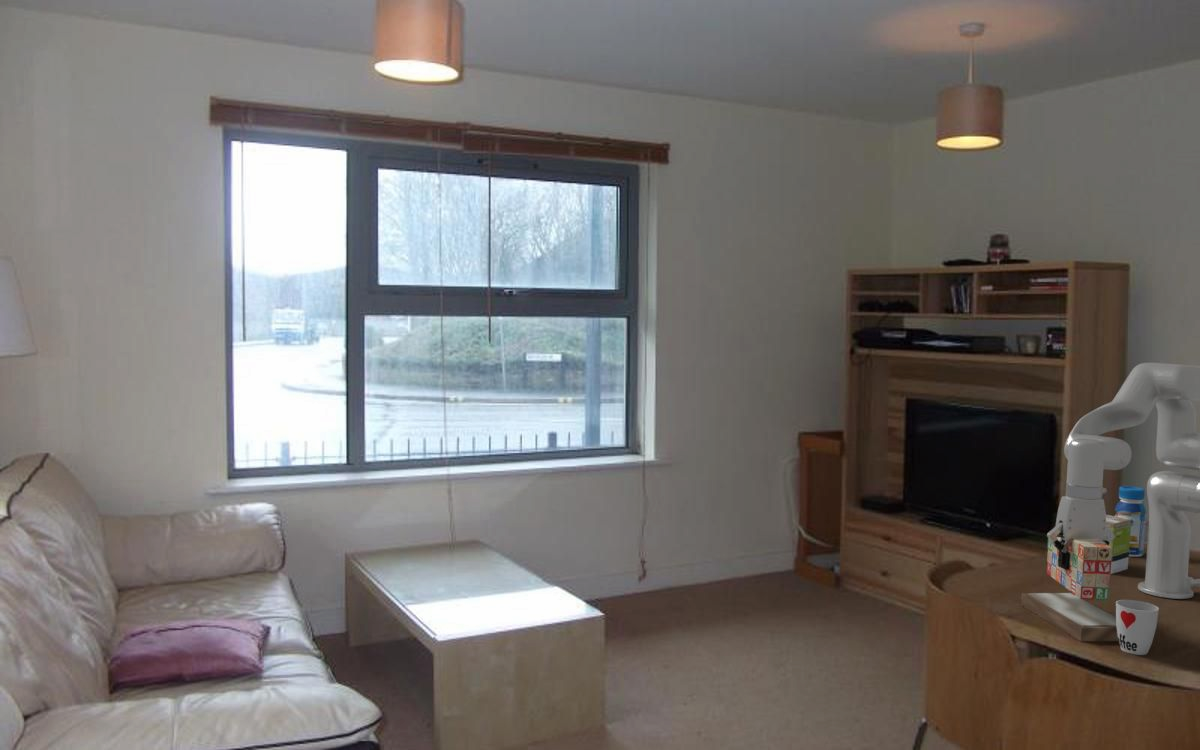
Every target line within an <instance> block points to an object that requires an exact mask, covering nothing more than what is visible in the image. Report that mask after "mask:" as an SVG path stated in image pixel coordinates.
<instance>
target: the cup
mask: <svg viewBox="0 0 1200 750" xmlns="http://www.w3.org/2000/svg"><path fill="white" fill-rule="evenodd" d="M1159 610H1160V608H1159V607H1158V606H1157V605H1155V604H1152V603H1151V602H1146V601H1141V600H1136V599H1119V600H1116V601H1115V616H1116V626H1117V635H1118V640H1119V641H1118V643H1119V646H1120V650H1121V651H1123V652H1125V653H1128V654H1130V655H1136V656H1145V655H1147V654H1148V653H1149V651H1150V649H1151V646H1152V644H1153V640H1154V637H1155V633H1156V630H1157V624H1158V618H1159V612H1160V611H1159Z"/></svg>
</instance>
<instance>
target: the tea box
mask: <svg viewBox="0 0 1200 750" xmlns="http://www.w3.org/2000/svg"><path fill="white" fill-rule="evenodd" d="M1106 527H1107V528H1108V529H1109V530H1110V531H1111V532H1112V533H1113V534H1114V535H1115V538H1114V539H1113V540H1112V541H1111V542H1110V543H1109V546H1110V547H1112V548H1113V549H1112V559H1111V573H1110V575H1114V574H1117V573H1119V572H1123V571H1126V570H1128V567H1129V546H1130V532H1131V519H1125V518H1120V517H1116V516H1115V515H1110V514H1106Z"/></svg>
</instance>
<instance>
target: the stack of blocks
mask: <svg viewBox="0 0 1200 750" xmlns="http://www.w3.org/2000/svg"><path fill="white" fill-rule="evenodd" d="M1057 539H1058V540H1059V541H1060V539H1061V538H1060V537H1057ZM1072 540H1073V541H1071V545H1070V547H1069V549H1068V551H1067V552H1068V553H1069V554H1070V558H1069V569H1068V570H1065V569H1063V568H1061V567H1059V564H1058V553H1059V550H1057V549H1056V547H1055V546H1054V545H1053V543H1052V542H1051V540H1050V539H1049V538H1048V537H1047V556H1046V557H1047V558H1046V561H1047V565H1046V574H1047V575H1048V576H1050V577H1051V578H1052V579H1053V580H1055V581H1056V582H1057V583H1059V584H1060V585H1061V586H1063V587H1064V588H1065V589H1067V590H1068V591H1070V593H1073V594H1074V595H1076V596H1077V597H1078V598H1079V599H1083V600H1086V601H1089V600H1090V601H1109V597H1110V582H1111V581H1110V580H1111V574H1110V573H1111V559H1112V549H1113V548H1112V547H1110V546H1109V545H1107V544H1106V543H1105V542H1103V541H1101V540H1099V539H1085V538H1072Z"/></svg>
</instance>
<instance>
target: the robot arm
mask: <svg viewBox="0 0 1200 750" xmlns="http://www.w3.org/2000/svg"><path fill="white" fill-rule="evenodd" d="M1192 401H1193V402H1194V401H1195V402H1196V401H1197V402H1198V401H1199V402H1200V365H1189V364H1179V363H1177V364H1176V363H1163V362H1143V363H1139V364H1137V365H1136V366H1134V367H1133V369H1132V370H1131V371H1130V373H1128V376H1127V377H1126V379H1125V380H1124V382H1123V383H1122V385H1121V387H1120V388H1119V390H1118V391H1117V393H1116V395H1115V396H1114V398H1113V399H1112V401H1110V402H1108V403H1105V404H1103V405H1101V406H1100V407H1097V408H1095V409H1094V410H1092V411H1090V412H1088V413H1087V414H1084V415H1083V416H1082V417H1081V418H1079V420H1077V422H1076V423H1075V425H1074V426H1073V428H1072V429H1071V431H1070V432H1069V435H1068V436H1067V438H1066V440H1065V443H1064V447H1063V452H1064V453H1063V454H1064V457H1065V459H1066V460H1067V467H1066V484H1065V485H1066V486H1065V496H1064V495H1063V496H1061V498H1060V501H1059V505H1058V508H1057V512H1056V521H1055V526H1054V527H1053V528H1052V529H1051V530H1049V531H1048V532H1047V534H1046V537H1047V539H1048V538H1049V539H1050V540H1051V542H1052V543H1053V545H1054V546H1055V547H1056V549H1057V550H1059V553H1058V564H1059V567H1061V568H1063V569H1065V570H1068V569H1069V558H1070V554H1069V553H1068V552H1067V551H1068V549H1069V547H1070V545H1071V541H1073V540H1072V538H1085V539H1099V540H1101V541H1103V542H1105V543H1106V544H1107V545H1109V543H1110V542H1111V541H1112V540H1113V539H1114V538H1115V535H1114V534H1113V533H1112V532H1111V531H1110V530H1109V529H1108V528H1107V527H1106V515H1107V512H1106V505H1105V500H1104V498H1103V494H1107V492H1108V491H1107V488H1106V487H1104V486H1103V483H1104V482H1103V479H1104V470H1110V471H1118V470H1122V469H1124V468H1125V467H1127V466H1129V465H1128V464H1130V462H1131V459H1132V456H1133V455H1132V448H1131V446H1130V445H1129V444H1128V443H1127V441H1125V440H1123V439H1120V438H1116V437H1110V436H1103V434H1105V433H1109V432H1113V431H1118V430H1124V429H1128V428H1132V427H1136V426H1140V425H1142V424H1143V423H1145V422H1146V421H1147V420H1148V418H1149V416H1150V414H1151V413H1152V412H1153V411H1152V410H1153V409H1154V408H1155V407H1156V410H1157V426H1156V431H1157V432H1156V442H1155V443H1156V444H1155V454H1156V459H1157V460H1158V461H1159V463H1161V464H1163V465H1165V466H1169V467H1173V468H1180V469H1186V470H1195V471H1199V472H1200V432H1198V431H1197V429H1196V428H1197V426H1196V425H1197V410H1196V408H1195V405H1194V404H1193V402H1192ZM1146 493H1147V494H1146V495H1147V501H1148V512H1149V513H1148V529H1147V530H1148V532H1147V549H1146V561H1145V575H1144V578H1145V579H1144V581H1141V582H1138V583H1137V589H1138V590H1139V591H1140V592H1142V593H1144V594H1146V595H1147V594H1148V595H1151V596H1155V597H1159V598H1166V599H1176V600H1184V599H1190V598H1193V597H1194V590H1192V588H1194V587H1200V578H1193V577H1191V576H1189V575H1188V574H1189V563H1190V550H1191V549H1190V547H1191V546H1190V545H1191V535H1192V534H1191V533H1192V529H1191V523H1190V521H1189V519H1188V517H1187V515H1186V514H1185V512H1189V513H1193V514H1194V513H1195V514H1200V475H1199V474H1198V475H1197V474H1190V473H1188V472H1187V473H1186V472H1178V471H1173V470H1172V471H1171V470H1170V471H1169V470H1161V471H1156V472H1154V473H1152V474H1151V475H1150V477H1148V480H1147V483H1146ZM1057 537H1060V538H1061V539H1060V541H1059V540H1058V539H1057Z"/></svg>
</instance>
